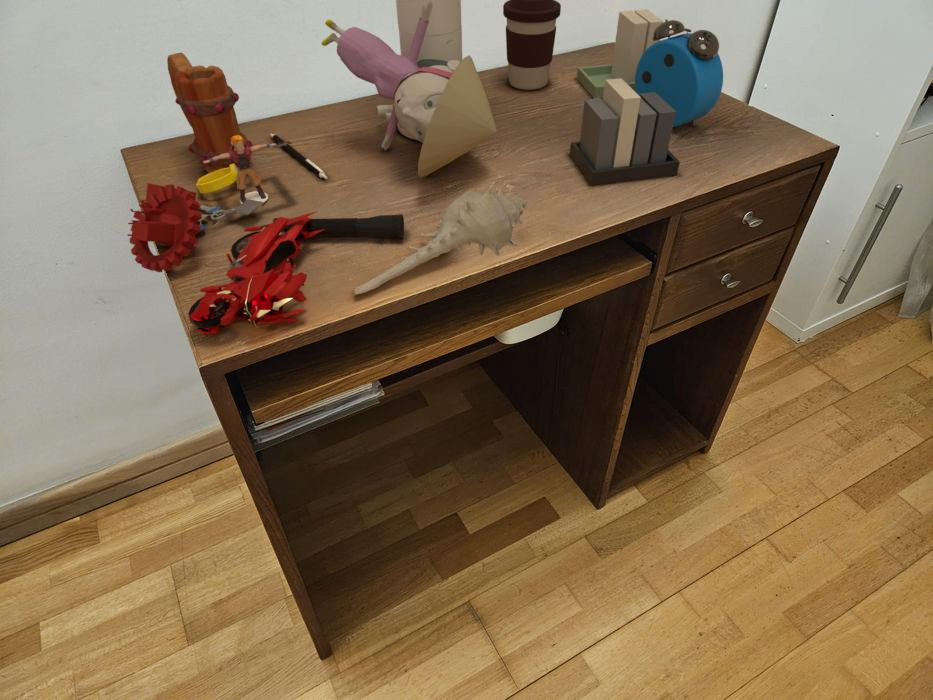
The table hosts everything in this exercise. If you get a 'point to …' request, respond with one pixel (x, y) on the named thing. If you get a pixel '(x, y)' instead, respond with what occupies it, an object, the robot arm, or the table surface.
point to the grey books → (647, 138)
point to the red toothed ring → (165, 226)
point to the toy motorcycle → (257, 278)
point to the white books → (632, 41)
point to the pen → (300, 157)
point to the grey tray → (623, 169)
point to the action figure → (246, 167)
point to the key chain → (229, 211)
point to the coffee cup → (530, 41)
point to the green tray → (596, 79)
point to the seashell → (463, 231)
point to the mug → (206, 109)
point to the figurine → (421, 93)
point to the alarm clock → (682, 71)
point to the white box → (622, 118)
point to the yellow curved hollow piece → (217, 179)
